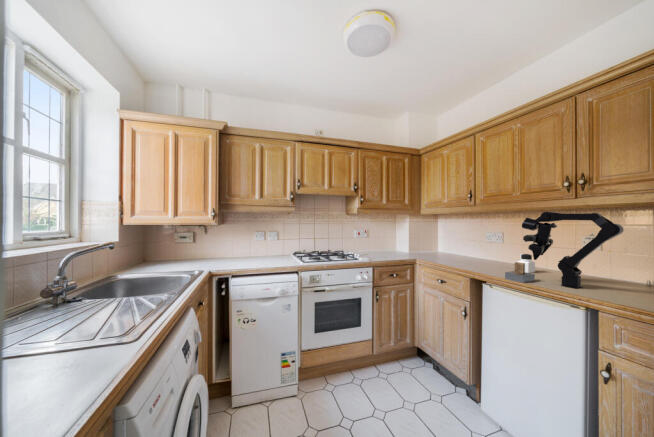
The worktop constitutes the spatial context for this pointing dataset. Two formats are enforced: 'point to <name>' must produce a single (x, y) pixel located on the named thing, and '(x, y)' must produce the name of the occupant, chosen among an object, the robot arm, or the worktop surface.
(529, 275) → the well block
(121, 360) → the worktop surface
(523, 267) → the brown tall square block
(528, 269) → the medicine bottle
